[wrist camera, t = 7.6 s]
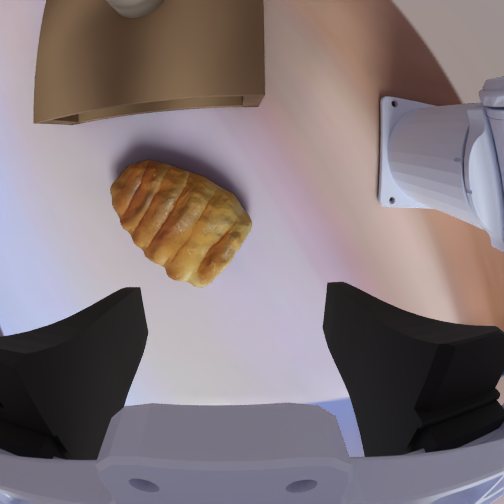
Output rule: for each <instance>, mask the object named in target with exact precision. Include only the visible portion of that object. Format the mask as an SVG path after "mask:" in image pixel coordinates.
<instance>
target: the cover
mask: <svg viewBox="0 0 504 504" xmlns="http://www.w3.org/2000/svg"><path fill="white" fill-rule="evenodd" d="M264 95H265V65H264V9H263V0H46V4H45V9H44V14H43V20H42V25H41V31H40V38H39V45H38V53H37V62H36V74H35V88H34V123H40V124H64V125H74V124H79V123H85V122H90V121H95V120H101V119H107V118H114V117H120V116H127V115H135V114H143V113H151V112H161V111H171V110H184V109H198V108H219V107H258V106H259V105H260V103H261V101H262V99H263V97H264Z"/></svg>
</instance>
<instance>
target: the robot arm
mask: <svg viewBox="0 0 504 504" xmlns="http://www.w3.org/2000/svg"><path fill="white" fill-rule="evenodd" d="M479 97H480V100H481V103H470V104H457V105H446V106H435V105H430V104H426V103H421V102H416V101H412V100H406V99H401V98H396V97H390V96H385V97H383V98H382V99H381V101H380V113H381V142H380V176H379V194H378V202H379V204H380V205H381V206H384V207H403V208H429V209H437V210H439V211H442V212H444V213H446V214H449V215H451V216H453V217H456V218H458V219H460V220H463V221H465V222H467V223H470V224H472V225H474V226H476V227H478V228H481V229H483V230H485V231H487V232H488V234H489V236H490V239H491V244H492V246H493V247H495V248H496V249H498V250H500V251H502V252H504V76H502V77H497V78H492V79H488V80H486V81H485V84H484V86H483V89H482V90H480V91H479ZM392 101H394V103H395V107H393V106H392ZM391 197H392V198H393V201H392V202H391V203H390V202H389V199H390V198H391ZM323 331H324V334H325V338H326V342H327V345H328V348H329V350H330V353H331V355H332V357H333V359H334V362H335V364H336V366H337V368H338V370H339V372H340V375H341V377H342V379H343V381H344V383H345V386H346V388H347V390H348V393H349V396H350V398H351V402H352V405H353V408H354V412H355V415H356V419H357V423H358V427H359V431H360V435H361V440H362V444H363V449H364V455H365V457H349V454H348V452H347V449H346V445H345V442H344V439H343V437H342V434H341V431H340V428H339V425H338V422H337V419H336V416H334V415H333V414H331V413H329V412H328V411H326V410H325V409H323V408H321V407H320V406H318V405H309V404H296V403H275V404H258V405H220V406H210V405H172V404H155V403H152V404H143V405H134V406H125V407H124V405H125V401H126V398H127V394H128V392H129V389H130V386H131V384H132V381H133V379H134V376H135V374H136V371H137V369H138V366H139V363H140V361H141V358H142V356H143V353H144V349H145V345H146V341H147V336H148V328H147V323H146V318H145V312H144V307H143V301H142V295H141V289H140V287H126V288H123V289H120V290H118V291H116V292H114V293H112V294H111V295H109V296H107V297H105V298H104V299H102V300H100V301H98V302H97V303H95V304H93V305H91V306H89V307H87V308H86V309H84V310H82V311H80V312H78V313H76V314H74V315H72V316H70V317H68V318H66V319H63V320H61V321H58V322H56V323H53V324H51V325H48V326H45V327H41V328H38V329H35V330H32V331H28V332H24V333H20V334H15V335H9V336H3V337H0V504H490V503H492V502H493V501H495V500H496V499H498V498H499V497H500V496H502V495H504V404H503V405H502V406H501V405H500V404H499V402H498V401H497V399H498V398H499V397H500V393H499V392H498V390H497V389H496V388H495V387H496V385H497V383H498V381H499V379H500V377H501V375H502V373H503V371H504V332H503V331H502V330H500V329H499V328H498V327H496V326H474V325H463V324H455V323H449V322H443V321H439V320H434V319H430V318H426V317H423V316H419V315H416V314H413V313H410V312H407V311H405V310H402V309H399V308H397V307H395V306H393V305H390V304H388V303H386V302H384V301H382V300H379V299H377V298H375V297H373V296H371V295H369V294H368V293H366V292H364V291H362V290H360V289H358V288H356V287H354V286H352V285H350V284H347V283H344V282H331V283H327V293H326V303H325V312H324V321H323Z"/></svg>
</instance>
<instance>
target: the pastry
mask: <svg viewBox="0 0 504 504" xmlns="http://www.w3.org/2000/svg"><path fill="white" fill-rule="evenodd" d="M110 191H111V195H112V205H113V208H114V209H115V211H116V212H117V214H118V216H119V218H120V223H121V225H122V227H123V228H124V229H125V230H127V231H128V232H129V233H130V234H131V237H132V239H133V241H134V243H135V244H136V245H137V246H138V247H140V248H141V249H142V250H143V251H144V254H145V256H146V257H147V258H148V259H149V260H151V261H153V262H154V263H157V264H160V265H161V266H163V267H165V269H166V272H167V275H168V276H169V277H170V278H172V279H174V280H178V281H186V282H189V283H191V284H192V285H193V286H194V287H205V286H207V285H208V284H209V283H211V282H212V281H213V280H214V279H215V278H216V277H217V276H218V275H219V274H220V273H221V272H222V271H223V269H224V268H225V267H227V266H228V264H229V263H230V262H231V260H232V258H233V256H234V254H235V252H236V251H237V250H239V249H240V247H241V245H242V243H243V242H244V240H245V239H246V237H247V236H248V235H249V233H250V231H251V227H252V221H251V219H250V217H249V215H248V214H247V213H246V212H245V210H244V209H243V208H242V206H241V205H240V203H239V201H238V199H237V198H236V196H235V195H233V194H232V193H231V192H229V191H227V190H225V189H223V188H221V187H220V186H218V185H216V184H215V183H213V182H211V181H210V180H208V179H207V178H205V177H203V176H201V175H198V174H195V173H192V172H190V171H186V170H182V169H180V168H178V167H174V166H172V165H170V164H166V163H162V162H158V161H151V160H147V161H143V162H138V163H133V164H131V165H130V166H128V167H126V169H125V170H124V171H123V172H122V173H121V175H120V176H119V178H118V179H117V180H115V181H114V183H113V184H112V186H111V188H110Z"/></svg>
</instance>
